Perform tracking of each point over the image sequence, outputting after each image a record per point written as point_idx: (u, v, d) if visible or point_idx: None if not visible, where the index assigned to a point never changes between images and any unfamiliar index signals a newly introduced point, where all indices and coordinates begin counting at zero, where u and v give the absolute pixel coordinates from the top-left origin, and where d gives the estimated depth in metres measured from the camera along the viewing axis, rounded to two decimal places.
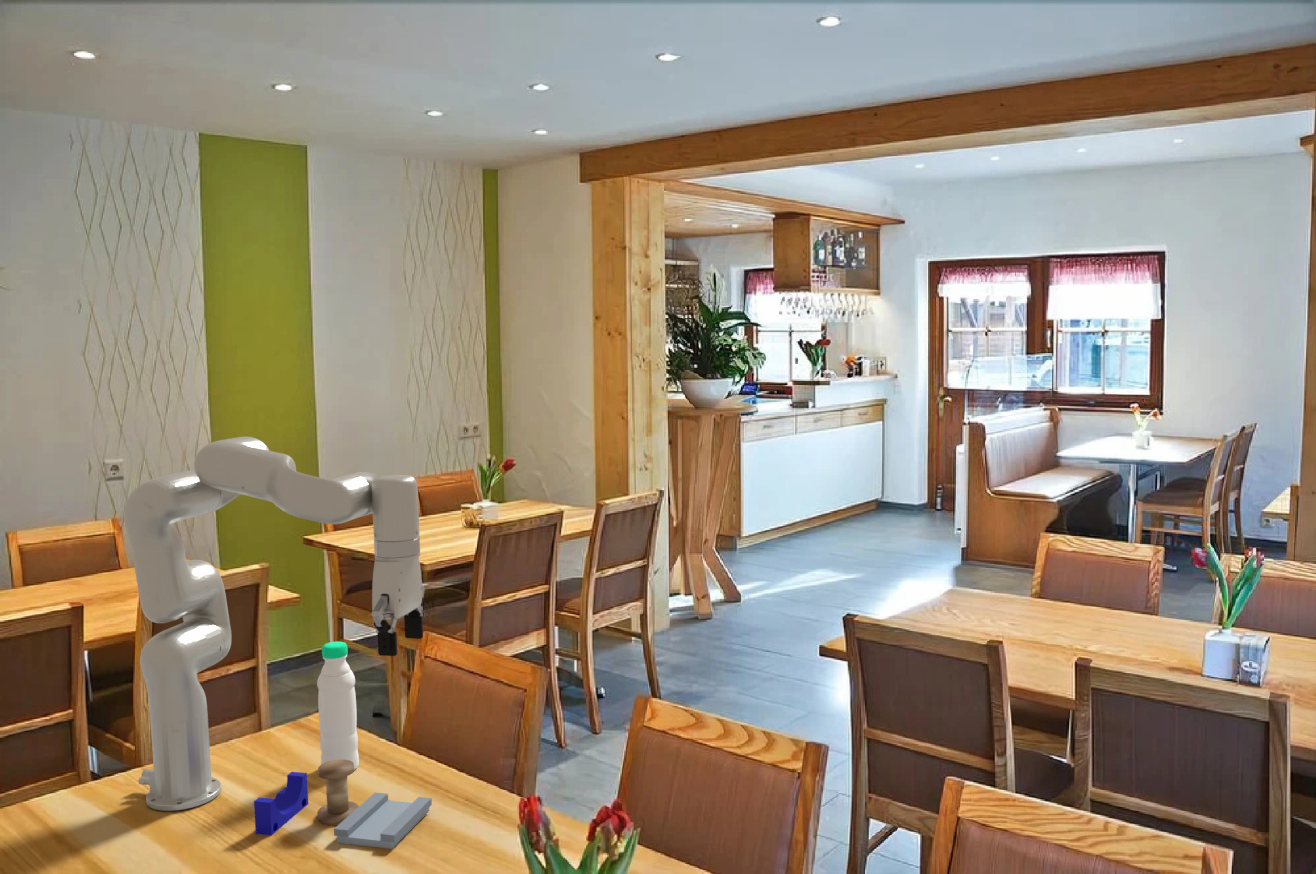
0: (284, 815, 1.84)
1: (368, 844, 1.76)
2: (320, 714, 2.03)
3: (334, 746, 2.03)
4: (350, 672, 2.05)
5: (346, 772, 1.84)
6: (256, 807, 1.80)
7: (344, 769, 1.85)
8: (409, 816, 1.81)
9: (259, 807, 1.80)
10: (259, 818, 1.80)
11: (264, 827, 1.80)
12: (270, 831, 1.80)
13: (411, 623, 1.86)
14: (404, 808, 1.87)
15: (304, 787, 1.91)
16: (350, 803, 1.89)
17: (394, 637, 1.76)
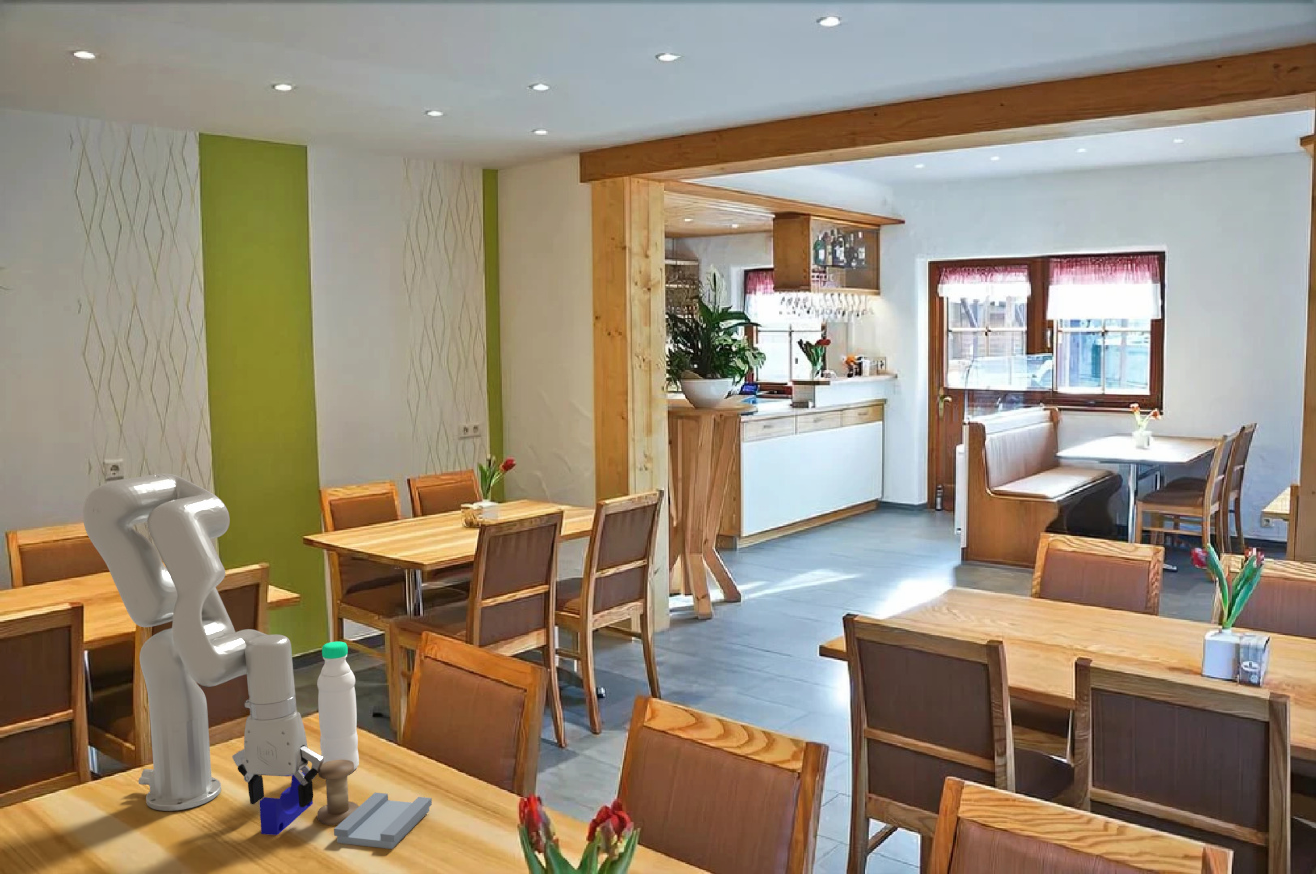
0: (289, 815, 1.84)
1: (368, 844, 1.76)
2: (320, 714, 2.03)
3: (334, 746, 2.03)
4: (350, 672, 2.05)
5: (346, 772, 1.84)
6: (262, 807, 1.80)
7: (344, 769, 1.85)
8: (409, 816, 1.81)
9: (265, 807, 1.80)
10: (265, 818, 1.80)
11: (270, 827, 1.80)
12: (276, 831, 1.80)
13: (257, 786, 1.86)
14: (404, 808, 1.87)
15: None
16: (350, 803, 1.89)
17: None
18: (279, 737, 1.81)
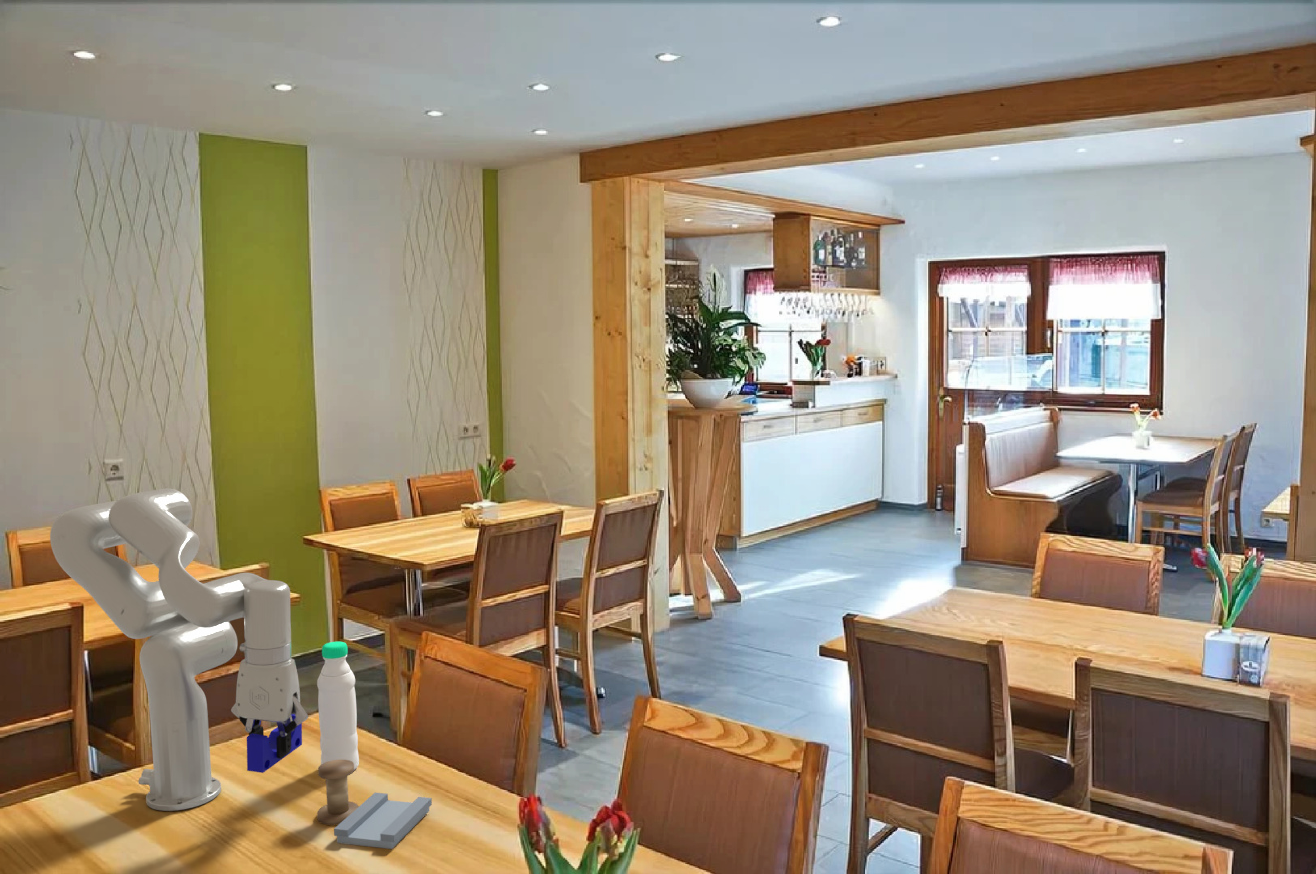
0: (276, 753, 1.84)
1: (368, 844, 1.76)
2: (320, 714, 2.03)
3: (334, 746, 2.03)
4: (350, 672, 2.05)
5: (346, 772, 1.84)
6: (248, 743, 1.80)
7: (344, 769, 1.85)
8: (409, 816, 1.81)
9: (251, 743, 1.80)
10: (251, 754, 1.80)
11: (256, 763, 1.80)
12: (261, 767, 1.80)
13: None
14: (404, 808, 1.87)
15: (299, 726, 1.90)
16: (350, 803, 1.89)
17: None
18: (273, 683, 1.81)
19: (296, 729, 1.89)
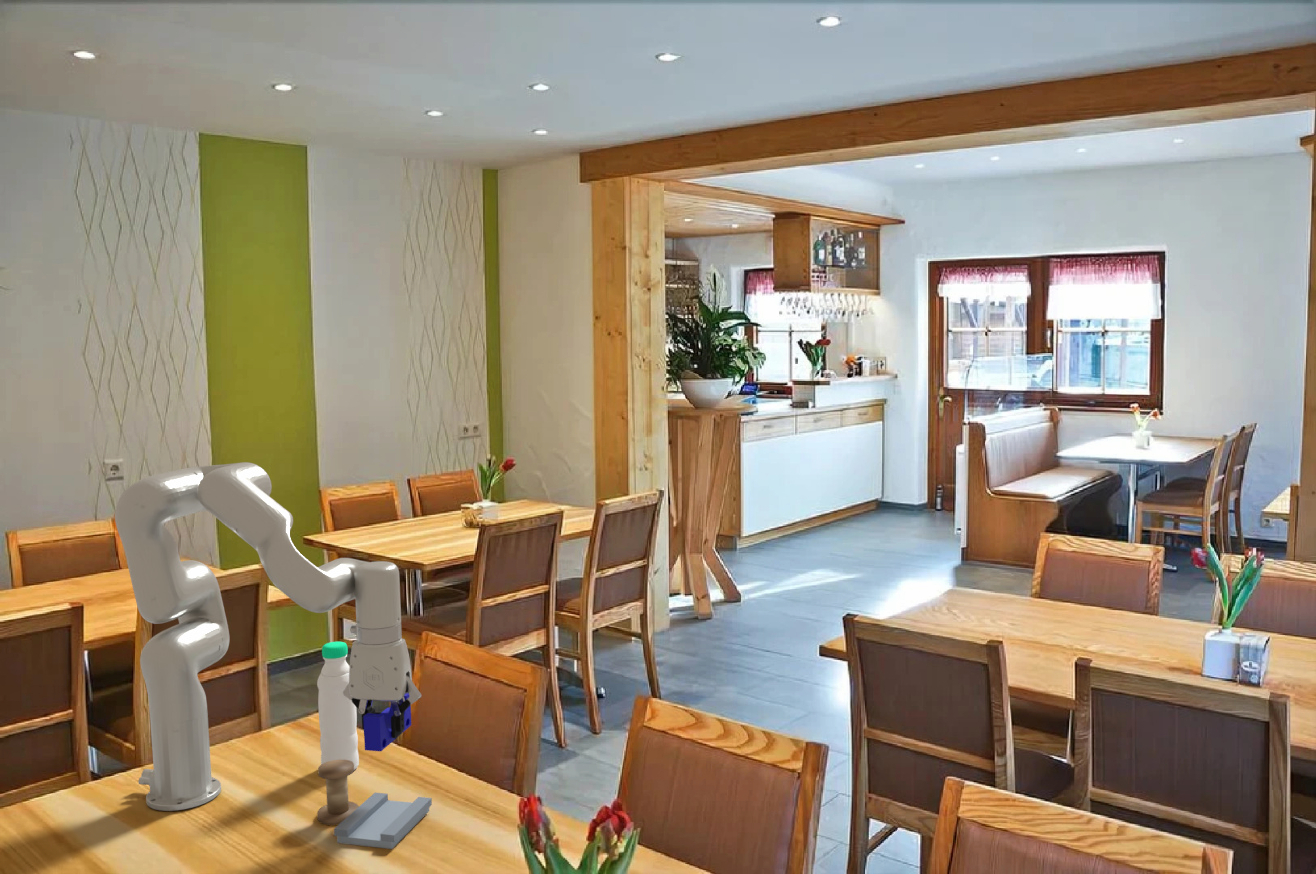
0: None
1: (368, 844, 1.76)
2: (320, 714, 2.03)
3: (334, 746, 2.03)
4: None
5: (346, 772, 1.84)
6: (365, 722, 1.81)
7: (344, 769, 1.85)
8: (409, 816, 1.81)
9: (369, 722, 1.81)
10: (368, 733, 1.81)
11: (373, 742, 1.81)
12: (379, 746, 1.81)
13: None
14: (404, 808, 1.87)
15: None
16: (350, 803, 1.89)
17: None
18: (387, 662, 1.82)
19: (406, 709, 1.91)
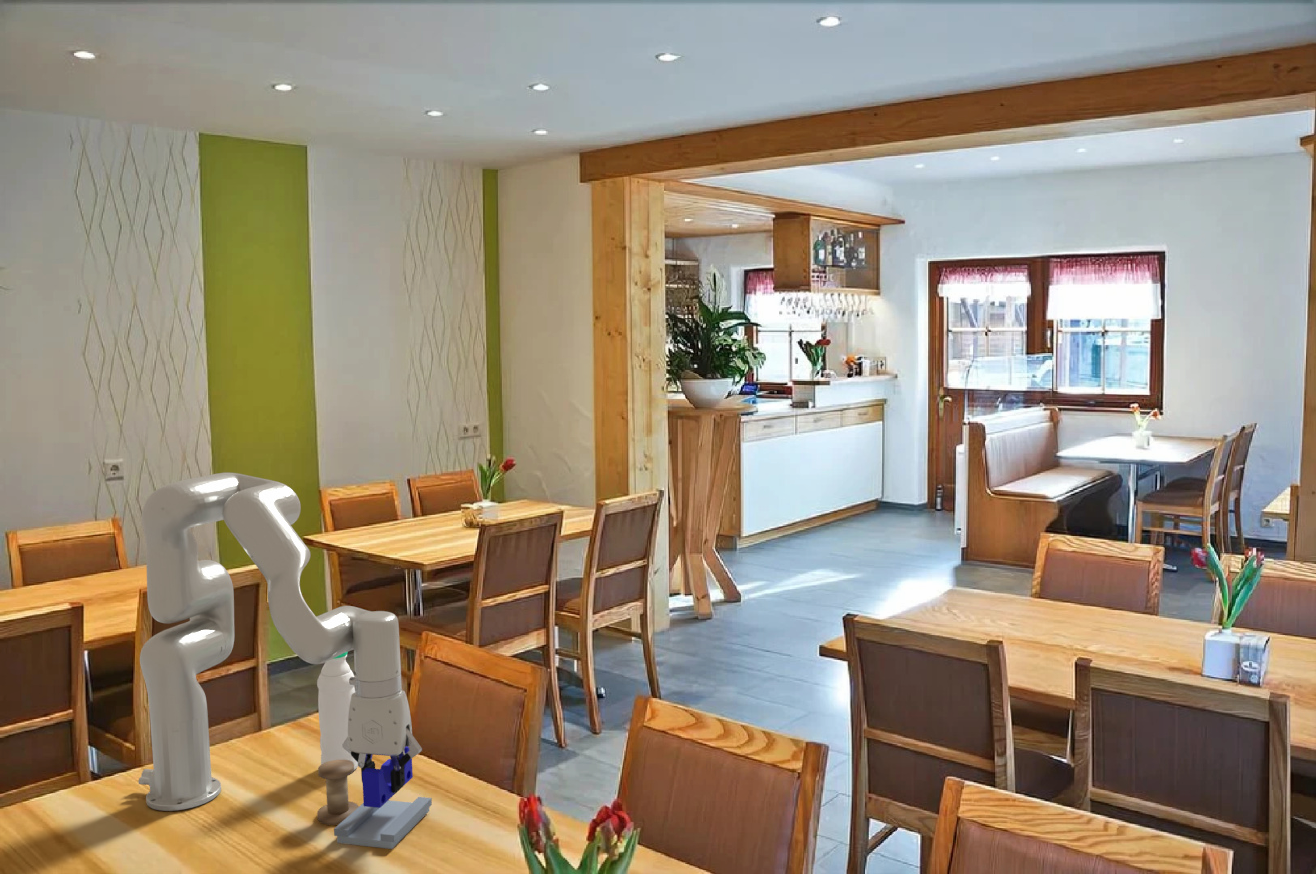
0: None
1: (368, 844, 1.76)
2: (320, 714, 2.03)
3: (334, 746, 2.03)
4: (350, 672, 2.05)
5: (346, 772, 1.84)
6: (364, 778, 1.76)
7: (344, 769, 1.85)
8: (409, 816, 1.81)
9: (367, 778, 1.76)
10: (367, 789, 1.76)
11: (372, 798, 1.76)
12: (378, 802, 1.76)
13: None
14: (404, 808, 1.87)
15: None
16: (350, 803, 1.89)
17: None
18: (386, 716, 1.77)
19: (407, 762, 1.86)
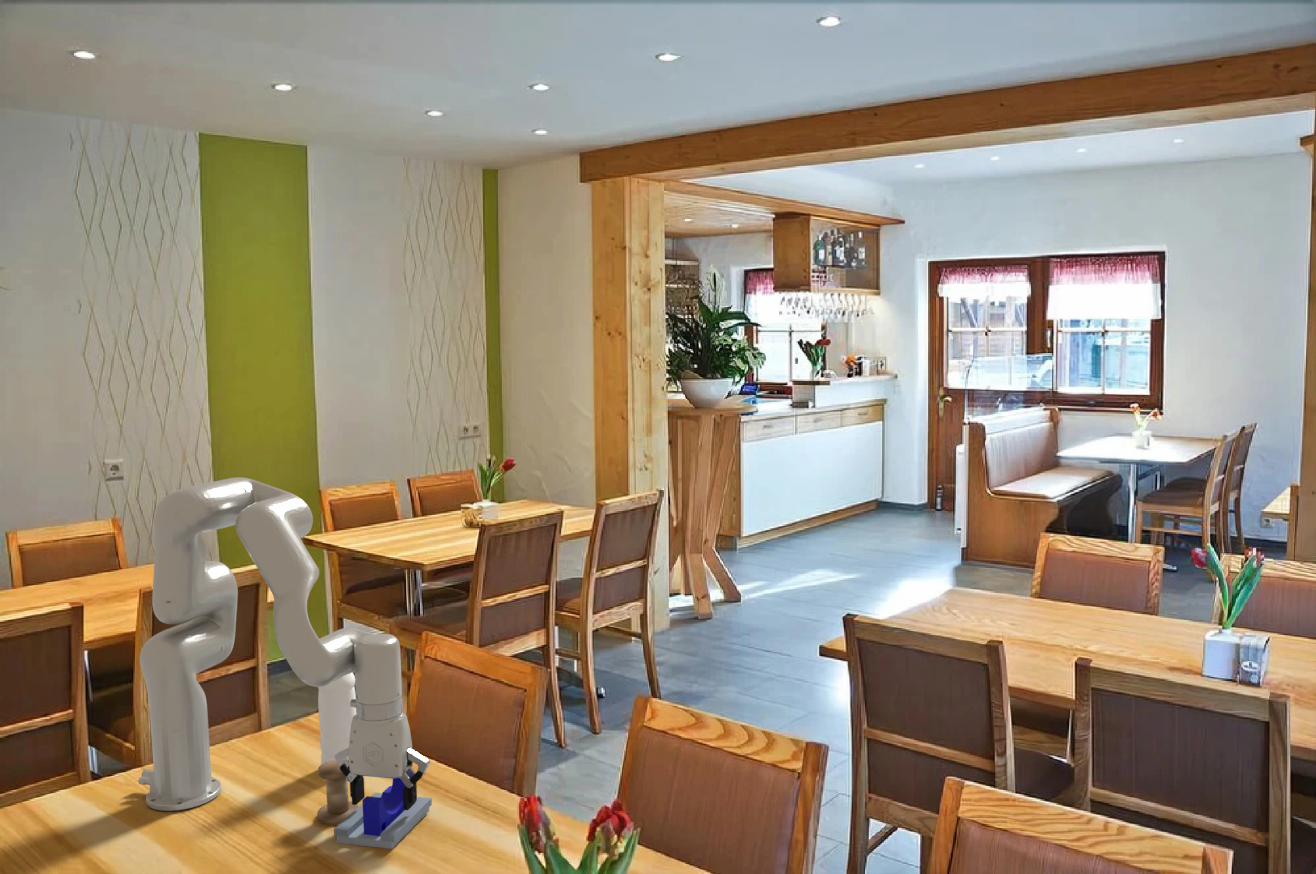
0: (391, 815, 1.81)
1: (368, 844, 1.76)
2: (320, 714, 2.03)
3: (334, 746, 2.03)
4: None
5: None
6: (364, 806, 1.77)
7: None
8: (409, 816, 1.81)
9: (368, 806, 1.77)
10: (367, 817, 1.77)
11: (372, 827, 1.77)
12: (378, 831, 1.77)
13: (359, 786, 1.83)
14: None
15: None
16: (350, 803, 1.89)
17: None
18: (387, 739, 1.78)
19: None
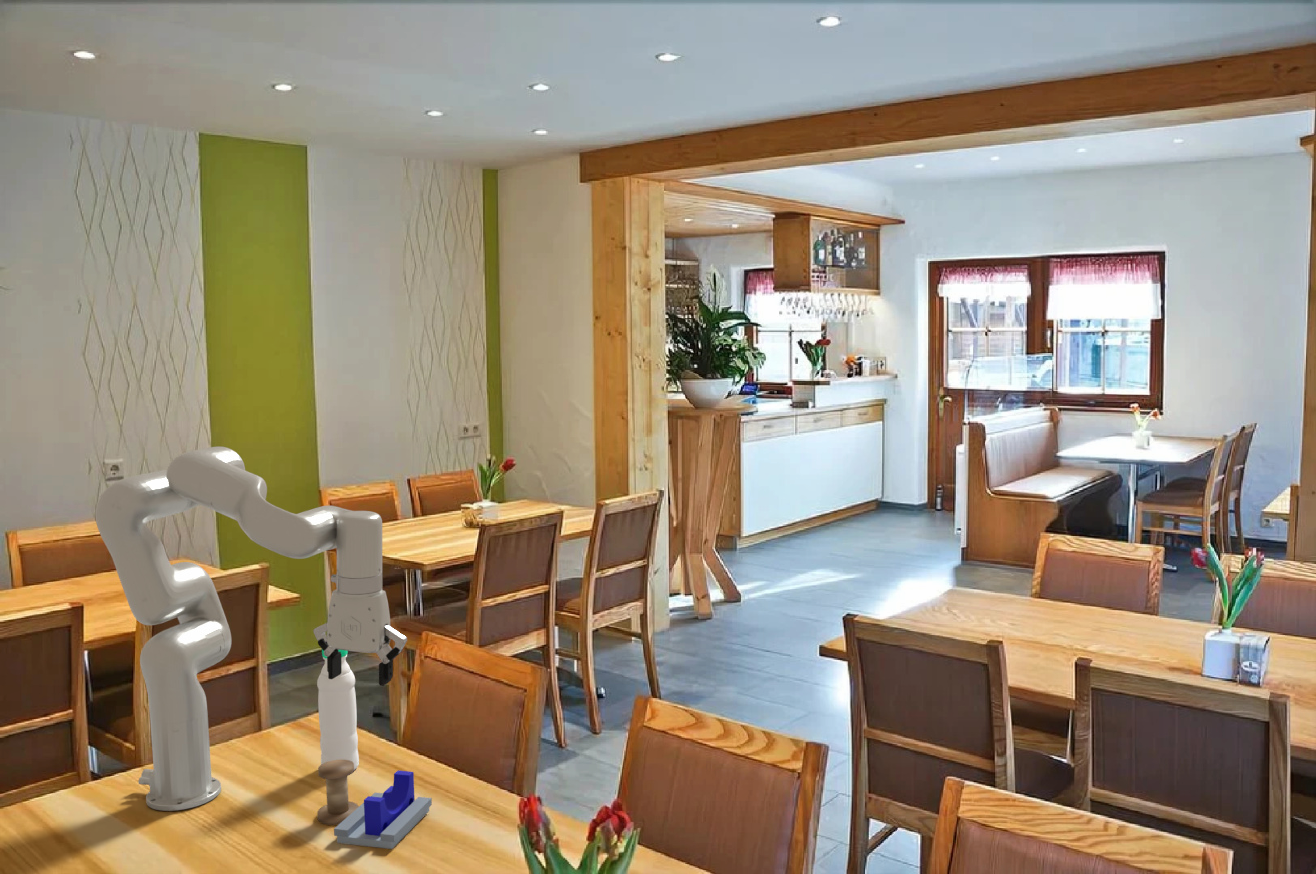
0: (393, 815, 1.81)
1: (368, 844, 1.76)
2: (320, 714, 2.03)
3: (334, 746, 2.03)
4: (350, 672, 2.05)
5: (346, 772, 1.84)
6: (366, 806, 1.77)
7: (344, 769, 1.85)
8: (409, 816, 1.81)
9: (369, 806, 1.77)
10: (369, 817, 1.77)
11: (374, 827, 1.77)
12: (380, 831, 1.77)
13: (336, 662, 1.85)
14: None
15: (411, 786, 1.87)
16: (350, 803, 1.89)
17: None
18: (365, 613, 1.79)
19: (409, 789, 1.86)
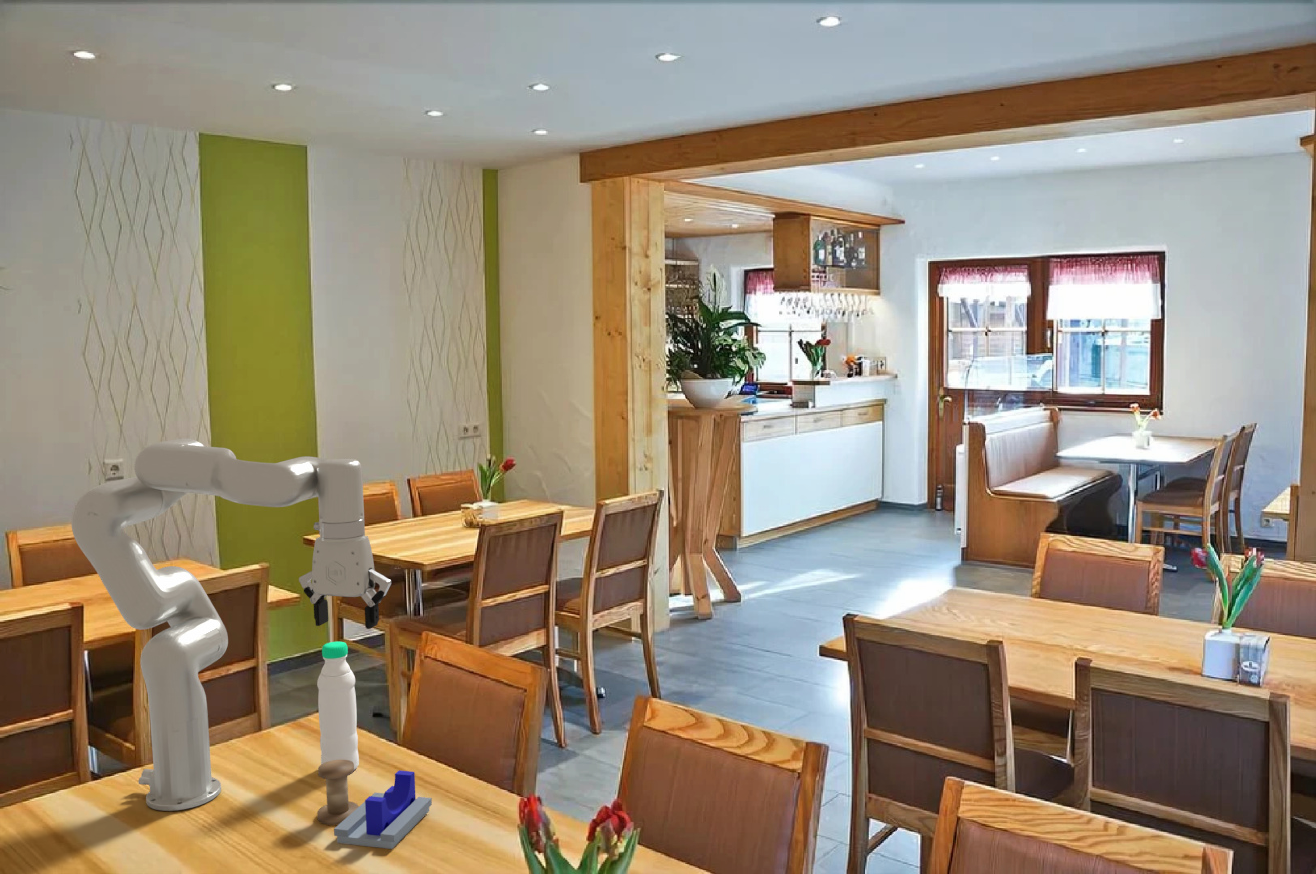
0: (394, 815, 1.81)
1: (368, 844, 1.76)
2: (320, 714, 2.03)
3: (334, 746, 2.03)
4: (350, 672, 2.05)
5: (346, 772, 1.84)
6: (367, 806, 1.77)
7: (344, 769, 1.85)
8: (409, 816, 1.81)
9: (370, 806, 1.77)
10: (370, 817, 1.77)
11: (375, 827, 1.77)
12: (381, 831, 1.77)
13: (322, 609, 1.88)
14: None
15: (412, 786, 1.87)
16: (350, 803, 1.89)
17: None
18: (349, 557, 1.82)
19: (410, 789, 1.86)
